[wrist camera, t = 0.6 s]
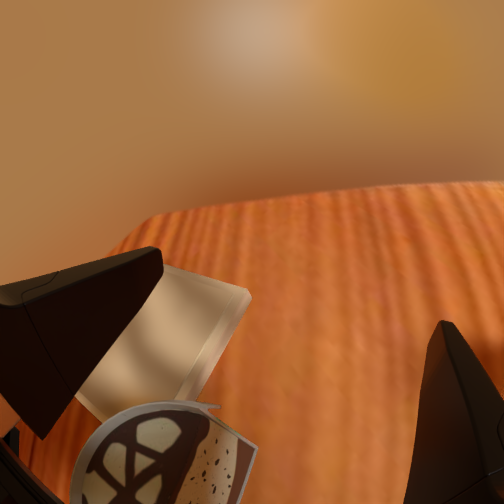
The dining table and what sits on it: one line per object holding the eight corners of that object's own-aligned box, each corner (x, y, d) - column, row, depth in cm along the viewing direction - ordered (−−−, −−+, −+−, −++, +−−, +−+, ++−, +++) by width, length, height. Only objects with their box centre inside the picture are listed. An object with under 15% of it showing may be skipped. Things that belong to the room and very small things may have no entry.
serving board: (163, 463, 20) (147, 461, 18) (62, 376, 28) (48, 368, 26) (254, 301, 27) (246, 287, 26) (136, 262, 35) (126, 251, 34)
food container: (190, 406, 22) (106, 360, 15) (264, 427, 20) (203, 395, 12) (144, 535, 15) (44, 539, 8) (214, 569, 13) (127, 606, 6)
